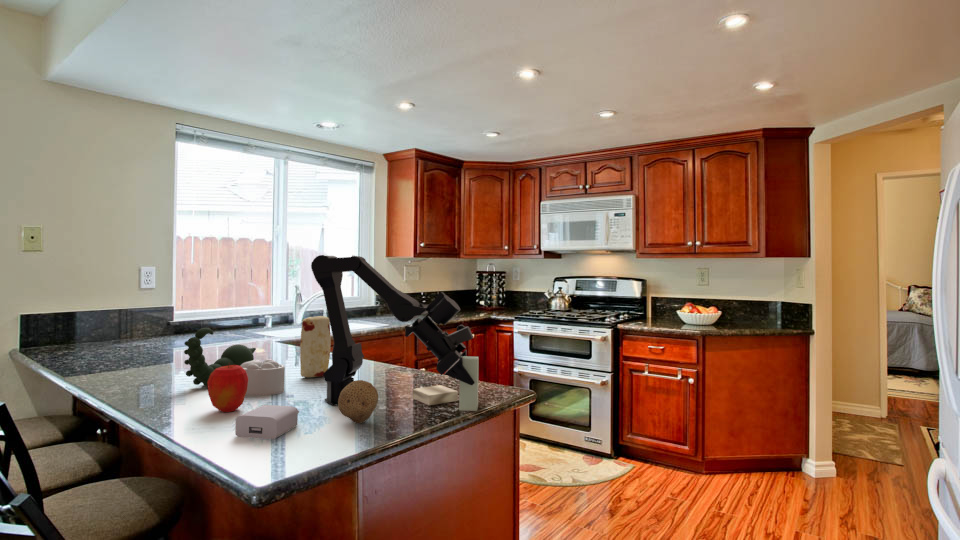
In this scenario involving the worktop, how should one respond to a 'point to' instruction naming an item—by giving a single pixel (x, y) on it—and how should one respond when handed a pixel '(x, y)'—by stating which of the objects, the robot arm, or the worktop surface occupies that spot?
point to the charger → (266, 422)
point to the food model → (315, 346)
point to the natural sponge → (358, 401)
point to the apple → (227, 387)
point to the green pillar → (466, 391)
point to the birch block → (435, 395)
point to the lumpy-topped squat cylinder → (264, 377)
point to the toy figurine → (230, 355)
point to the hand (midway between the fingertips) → (474, 380)
